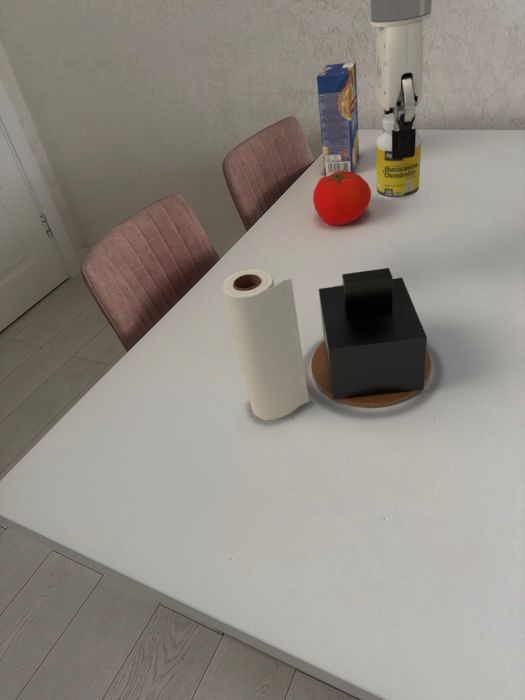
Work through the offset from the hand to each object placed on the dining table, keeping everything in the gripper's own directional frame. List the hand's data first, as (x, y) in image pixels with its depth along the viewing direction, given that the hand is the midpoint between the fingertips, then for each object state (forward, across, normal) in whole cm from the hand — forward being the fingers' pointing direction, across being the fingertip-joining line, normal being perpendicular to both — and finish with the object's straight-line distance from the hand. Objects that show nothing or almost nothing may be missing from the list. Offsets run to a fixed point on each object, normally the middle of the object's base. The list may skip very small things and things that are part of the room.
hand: (398, 148), depth 75 cm
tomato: (+24, -27, -7) cm, 37 cm away
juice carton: (+24, -59, -4) cm, 64 cm away
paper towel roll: (+24, +29, -22) cm, 43 cm away
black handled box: (+23, +23, -8) cm, 33 cm away
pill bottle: (+7, 0, 0) cm, 7 cm away
